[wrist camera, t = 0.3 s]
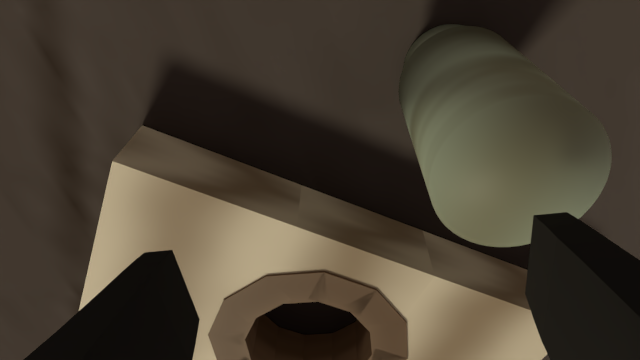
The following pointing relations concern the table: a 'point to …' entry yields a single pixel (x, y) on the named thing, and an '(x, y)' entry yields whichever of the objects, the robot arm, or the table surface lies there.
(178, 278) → the robot arm
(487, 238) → the green peg
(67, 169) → the table surface
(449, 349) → the socket board
